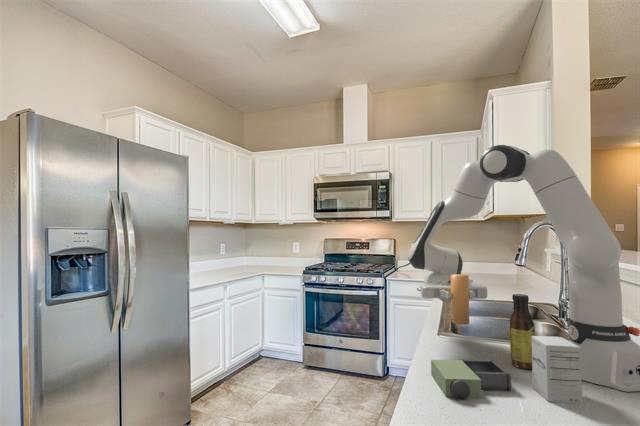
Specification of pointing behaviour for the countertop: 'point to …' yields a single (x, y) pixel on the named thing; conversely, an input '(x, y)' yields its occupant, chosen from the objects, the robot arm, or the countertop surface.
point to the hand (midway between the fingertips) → (461, 295)
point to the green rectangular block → (456, 379)
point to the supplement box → (557, 369)
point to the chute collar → (490, 375)
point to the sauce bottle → (521, 332)
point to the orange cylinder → (460, 299)
